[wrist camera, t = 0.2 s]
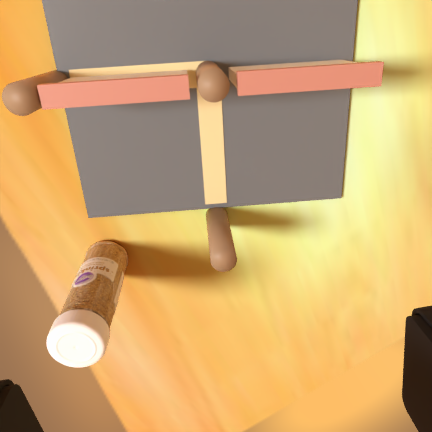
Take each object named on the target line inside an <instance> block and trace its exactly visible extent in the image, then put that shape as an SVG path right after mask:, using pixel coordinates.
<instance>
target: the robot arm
mask: <svg viewBox="0 0 432 432" xmlns="http://www.w3.org/2000/svg"><path fill="white" fill-rule="evenodd" d="M404 350H405V351H404V368H403V388H402V398H403V402H404V405H405V408H406V410H407V412H408V414H409V416H410V417H411V419H412V421H413V423H414V424H415V426H416V428H417V430H418V431H419V432H432V306H427V307H421V308H416V309H414V310H413V311H412V316H408V317H407V318H406V328H405V348H404ZM0 432H44V431H43V429H42V427H41V426H40V424H39V422H38V420H37V418H36V416H35V414H34V412H33V410H32V409H31V406H30V405H29V403H28V401H27V399H26V397H25V395H24V393H23V391H22V389H21V387H20V386H19V385H17V384H15V385H14V383H13V382H12V381H11V380H9V379H8V380H1V381H0Z"/></svg>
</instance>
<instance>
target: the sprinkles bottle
mask: <svg viewBox="0 0 432 432" xmlns="http://www.w3.org/2000/svg"><path fill="white" fill-rule="evenodd" d="M127 265H128V256H127V252H126V250H125V249H124V248H123V247H122V246H120V245H118V244H117V243H115V242H112V241H99V242H96V243H94V244H93V245H92V246H91V247H90V248H89V249H88V251H87V252H86V257H85V260H84V262H83V264H82V265H81V267H80V269H79V271H78V273H77V275H76V278H75V280H74V282H73V284H72V287H71V290H70V293H69V295H68V297H67V299H66V302H65V304H64V306H63V309H62V311H61V313H60V315H59V316H58V317H57V318H56V320H55V321H54V323H53V325H52V327H51V329H50V332H49V334H48V337H47V349H48V351H49V353H50V354H51V356H52V357H53V358H54V359H55V360H57V361H58V362H60V363H62V364H64V365H66V366H70V367H86V366H90V365H93V364H95V363H96V362H98V361H99V360H100V359H101V358H102V357H103V355H104V353H105V351H106V348H107V345H108V341H109V337H110V325H111V322H112V318H113V315H114V313H115V310H116V306H117V303H118V299H119V295H120V291H121V287H122V283H123V279H124V273H125V269H126V267H127Z"/></svg>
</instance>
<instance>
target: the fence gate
mask: <svg viewBox="0 0 432 432" xmlns="http://www.w3.org/2000/svg"><path fill="white" fill-rule="evenodd" d="M383 65H384V62H380V61H376V62H361V63H358V62H353V61H347V60H327V61H312V62H297V63H282V64H267V65H252V66H237V67H228V68H229V80H230V81H231V82H232V83H233V84H234V85H235V87H236V88H237V95H238V96H245V95H260V94H274V93H289V92H303V91H318V90H332V89H347V88H361V87H375V86H381V82H382V74H383Z"/></svg>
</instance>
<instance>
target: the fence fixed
mask: <svg viewBox="0 0 432 432" xmlns="http://www.w3.org/2000/svg"><path fill="white" fill-rule="evenodd" d="M196 80H197V86H198V91H199V93H200V95H201V97H202V98H203V99H205V100H206V101H208V102H219V101H221V100H223V99H224V98H225V97H226V96H227V94H228V92H229V88H230V83H229V79H228V77H227V76H226V74H225V73H224V72H223V71H222V70H221V69H220V68H219V67H218V65H217V64H216V63H214V62H212V61H204V62H202V63H200V64H199V65H198V67H197V69H196ZM2 99H3V103H4V105H5V106H6V108H7V109H8V110H9V111H10V112H12V113H14V114H16V115H19V116H26V115H29V114H31V113H33V112H34V111H36V110H38V109H40V108H42V109H57V108H72V107H86V106H101V105H115V104H130V103H144V102H158V101H173V100H187V99H190V92H189V79H188V74H187V70H177V71H162V72H147V73H132V74H117V75H102V76H87V77H72V78H69V79H68V77H67V76H66V75H65V74H64V73H62V72H60V71H57V70H55V71H51V72H48V73H44V74H41V75H37V76H34V77H30V78H27V79H23V80H20V81H17V82H13V83H10V84H8V85H7V86H6V87H5V88H4V90H3V93H2ZM206 220H207V230H208V240H209V250H210V260H211V265H212V267H213V268H214V269H216V270H218V271H221V272H225V271H229V270H231V269H232V268H233V267H234V266H235V265H236V262H237V257H236V253H235V248H234V243H233V239H232V234H231V229H230V225H229V220H228V216H227V212H226V210H225V209H224V208H223V207H214V208H210V209H209V210H208V211H207V213H206Z"/></svg>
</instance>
